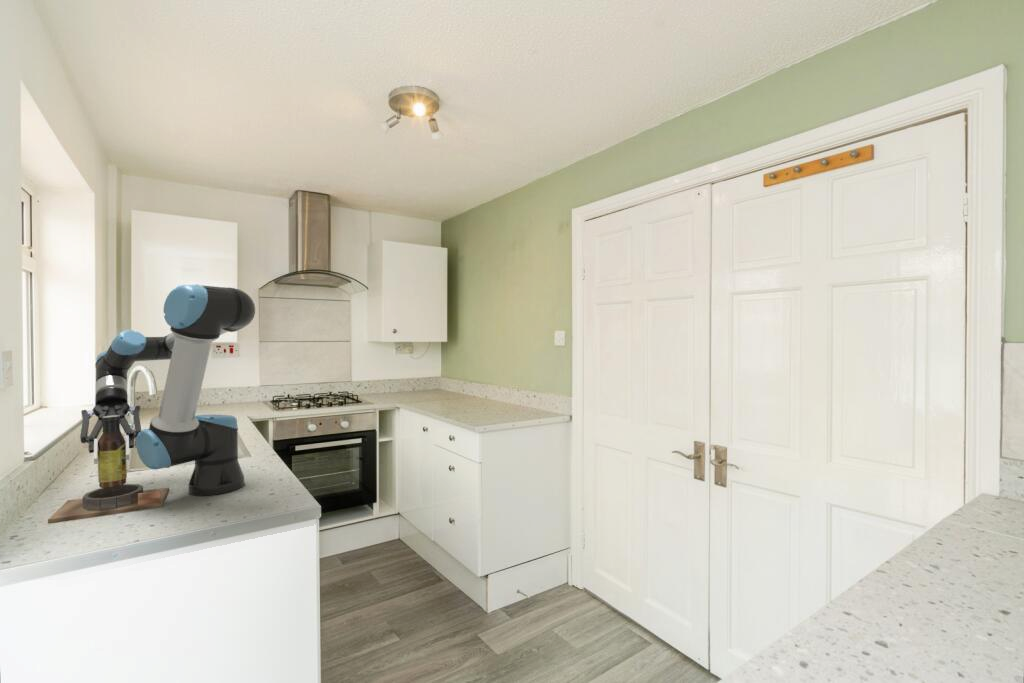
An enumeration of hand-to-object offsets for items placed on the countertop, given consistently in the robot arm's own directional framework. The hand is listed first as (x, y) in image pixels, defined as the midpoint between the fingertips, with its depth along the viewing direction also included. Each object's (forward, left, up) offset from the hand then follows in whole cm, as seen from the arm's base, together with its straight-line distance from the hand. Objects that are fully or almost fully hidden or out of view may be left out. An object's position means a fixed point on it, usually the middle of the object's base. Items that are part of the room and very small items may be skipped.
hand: (111, 459), depth 136 cm
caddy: (+2, -3, -14) cm, 14 cm away
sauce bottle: (+2, -3, -9) cm, 9 cm away
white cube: (+26, -39, -14) cm, 48 cm away
